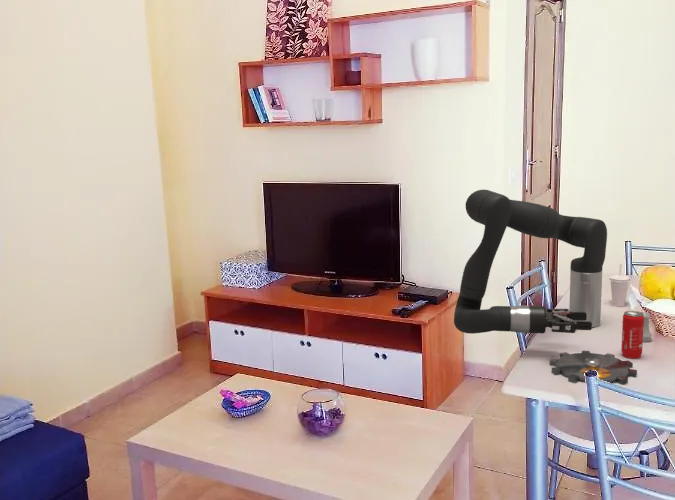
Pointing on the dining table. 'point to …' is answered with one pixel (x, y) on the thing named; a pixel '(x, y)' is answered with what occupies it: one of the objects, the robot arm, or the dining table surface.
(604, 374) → the sprocket
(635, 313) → the beverage can
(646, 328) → the rook chess piece
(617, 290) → the smoothie
